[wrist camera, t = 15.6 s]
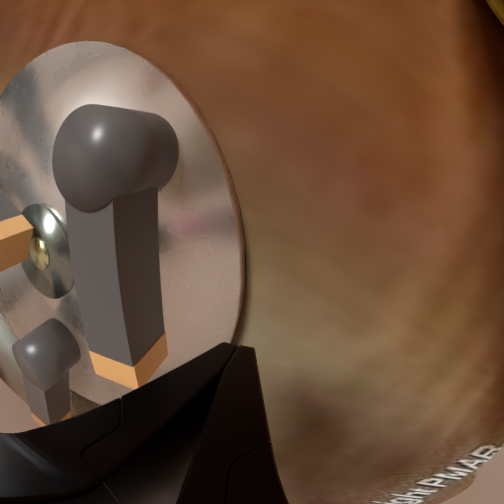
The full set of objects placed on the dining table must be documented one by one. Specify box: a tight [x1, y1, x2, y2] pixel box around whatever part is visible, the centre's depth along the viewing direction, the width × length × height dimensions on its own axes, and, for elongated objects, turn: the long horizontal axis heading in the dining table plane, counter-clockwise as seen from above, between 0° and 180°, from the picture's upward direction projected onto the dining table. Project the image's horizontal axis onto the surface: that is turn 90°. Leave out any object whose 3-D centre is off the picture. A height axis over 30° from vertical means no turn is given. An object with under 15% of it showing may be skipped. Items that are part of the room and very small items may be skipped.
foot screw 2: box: [52, 104, 179, 390], centre depth 11 cm, size 11×4×4 cm, turn 177°
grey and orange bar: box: [12, 318, 81, 427], centre depth 17 cm, size 11×4×4 cm, turn 155°
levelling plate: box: [0, 41, 245, 405], centre depth 15 cm, size 25×25×2 cm
